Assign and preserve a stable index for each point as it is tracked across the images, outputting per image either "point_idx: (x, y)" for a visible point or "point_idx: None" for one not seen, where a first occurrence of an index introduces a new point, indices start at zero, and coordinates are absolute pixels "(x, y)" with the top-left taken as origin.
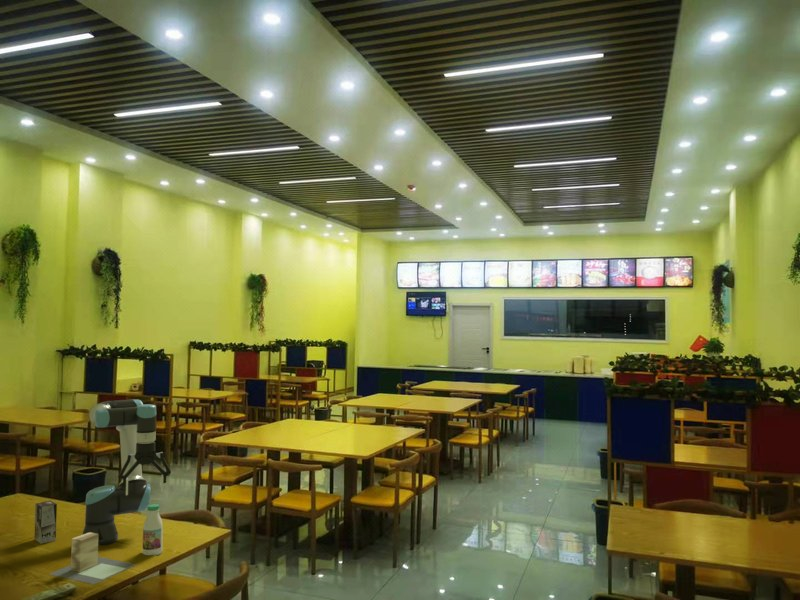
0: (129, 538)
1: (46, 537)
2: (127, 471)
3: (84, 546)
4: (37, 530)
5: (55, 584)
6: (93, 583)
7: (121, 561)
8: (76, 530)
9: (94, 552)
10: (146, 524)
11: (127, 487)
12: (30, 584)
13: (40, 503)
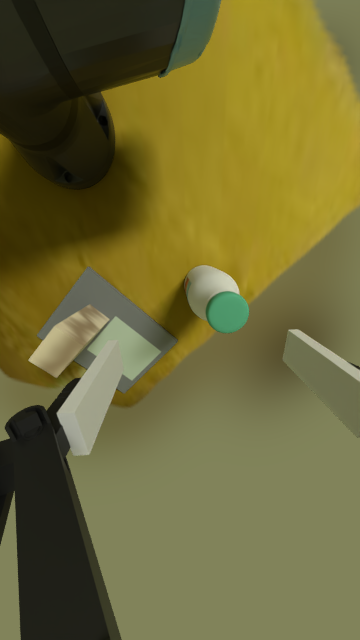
0: (145, 140)
1: None
2: (17, 502)
3: (71, 361)
4: None
5: (65, 368)
6: (122, 390)
7: (149, 318)
8: None
9: (95, 334)
10: (197, 315)
11: (108, 400)
12: (25, 357)
13: None
